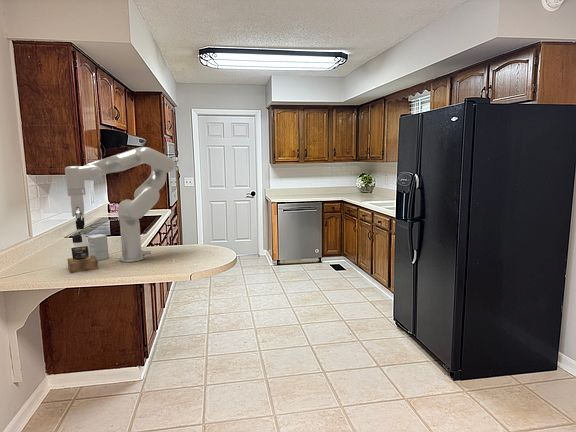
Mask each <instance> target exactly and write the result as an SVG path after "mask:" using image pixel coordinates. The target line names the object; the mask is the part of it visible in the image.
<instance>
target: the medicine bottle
mask: <svg viewBox="0 0 576 432" xmlns="http://www.w3.org/2000/svg"><path fill="white" fill-rule="evenodd" d="M71 239H72V246H71V255H72V256H71V258H73V261H82V260H89V259H90V257H91V253H90V245H89V242H88V240H87V235H86V234H84V233H79V234H74V235H72V238H71Z"/></svg>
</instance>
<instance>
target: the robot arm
mask: <svg viewBox="0 0 576 432" xmlns="http://www.w3.org/2000/svg"><path fill="white" fill-rule="evenodd" d="M142 164H147V165H148V166H149V167H150V170H151V171H150V172H151V173H150V175H149V177H147V179H146V180H145V181H144V182H142V183H141V185H140V186H138V187H137V188H136V189H135V191H134V193H133V197H134V199H128V198H127V199H123V200H122V201H120V203H119V204H118V206H117V215H118V216H117V217H118V220H119V221H118V222H119V226H120V241H121V242H120V244H121V254H122V256H121V257H119V262H123V263H135V262H139V261H140V262H141V261H143V260H145V258H146V255H152V252H151V250H143V249H142V240H141V226H140V225H141V223H140V220H139V219H142V218H143V217H144V216H145V215H146V214H147V213H148V212H149V211H150V210H152V209H153V207H154V206H155V205H156V204H157V203H158V201H159V200H160V190H161V189H162V188H163V187H164V185H165V183H166V180H167V174H168V173H171V172H172V171H173V170H174V169H175V161H174V160H173V158H172V157H170V156H169V155H167V154H164V153H162V152H159V151H158V150H156V149H153V148H152V147H147V146H140V147H135V148H133V149H129V150H126V151H124V152H121V153H117V154H114V155H111V156H108V157H105V158H102V159H99V160H95V161H93V162H89V163H87V164H84V165H83V166H80V165H71V166H66V167H65V168H64V174H65V182H66V183H65V184H66V191H67V192H66V193H67V196H68V197H70V207H71V217H72V218H74V217H75V227H76V228H75V229H76V230H84V229H85V218H84V214H85V203H84V196H85V195H86V186H85V181H92V182H93V181H98V180H99V179H101V177H102V176H104V175H107V174H111V173H120V172H124V171H126V170H129V169H131V168H134V167H137V166H139V165H142Z"/></svg>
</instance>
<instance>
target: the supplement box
mask: <svg viewBox="0 0 576 432" xmlns="http://www.w3.org/2000/svg"><path fill="white" fill-rule="evenodd" d="M86 238H87V242H89V245H90V253H91V256H92V255H94V256H95V257H96V259H97V260H98V261H102V260H106V259H110V258H109V257H110V255H109V244H108V235H107V234H106V235H105V234H101V233H99V234H93V235H86Z"/></svg>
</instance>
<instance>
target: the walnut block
mask: <svg viewBox="0 0 576 432" xmlns="http://www.w3.org/2000/svg"><path fill="white" fill-rule="evenodd" d="M66 261H67V267H68V271H69V273H70V274H74V273H75V274H76V273H82V272H91V271H96V270H99V260H97V259H96V257H95V256H94V255H92V256H91V257H90V259H89V260H82V261H73V257H71V258H67V259H66Z"/></svg>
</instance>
